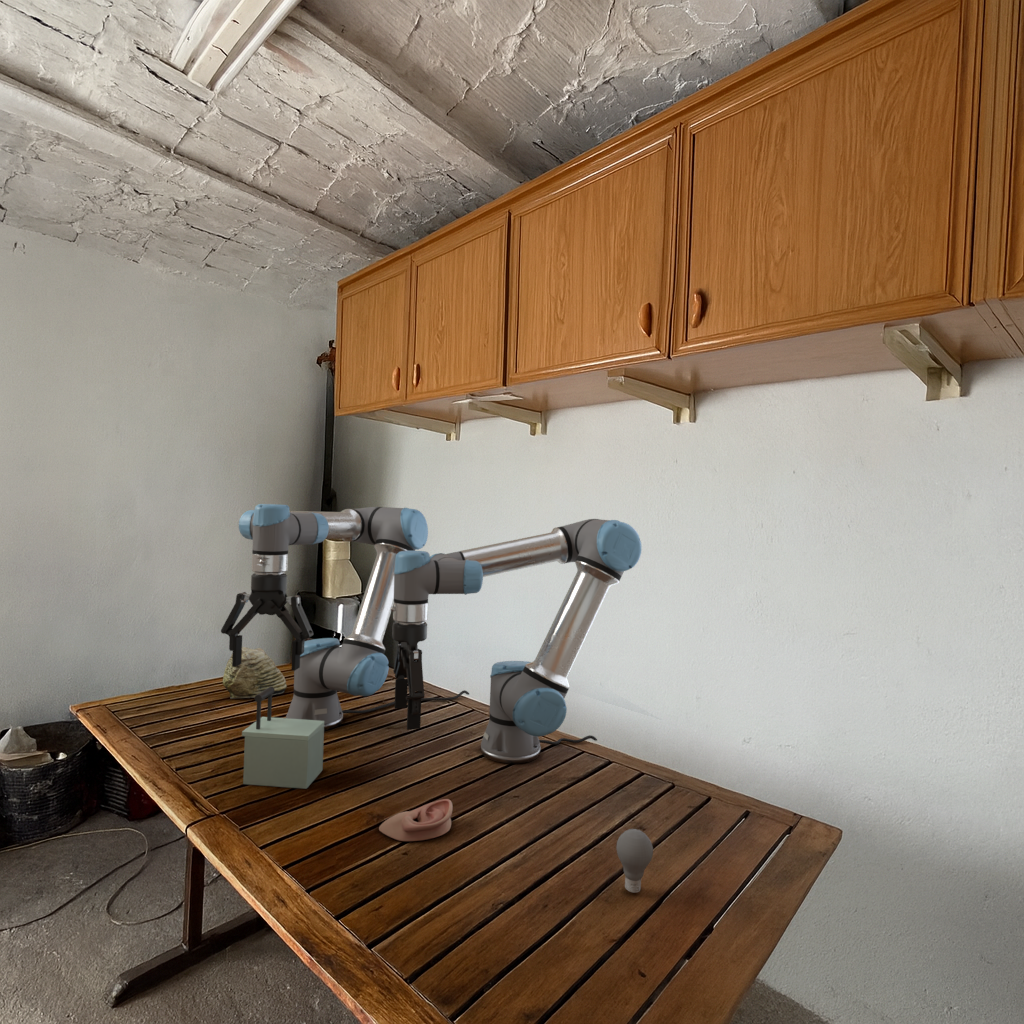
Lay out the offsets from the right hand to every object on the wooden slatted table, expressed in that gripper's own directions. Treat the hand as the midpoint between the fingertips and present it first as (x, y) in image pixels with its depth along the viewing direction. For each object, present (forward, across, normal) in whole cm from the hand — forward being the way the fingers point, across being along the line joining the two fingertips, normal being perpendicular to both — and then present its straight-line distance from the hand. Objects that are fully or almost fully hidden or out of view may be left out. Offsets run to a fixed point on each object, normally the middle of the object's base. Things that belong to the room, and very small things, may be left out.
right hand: (406, 717), depth 139 cm
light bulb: (+16, +47, +29) cm, 58 cm away
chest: (+15, -13, -25) cm, 32 cm away
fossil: (+15, -75, -32) cm, 83 cm away
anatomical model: (+16, +17, -1) cm, 23 cm away
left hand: (-9, -15, -29) cm, 34 cm away
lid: (+5, -13, -25) cm, 28 cm away
